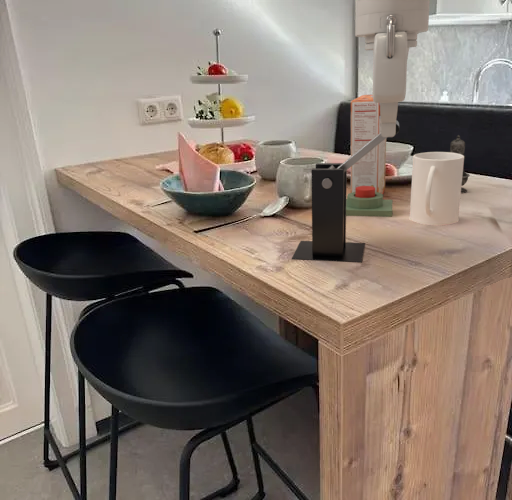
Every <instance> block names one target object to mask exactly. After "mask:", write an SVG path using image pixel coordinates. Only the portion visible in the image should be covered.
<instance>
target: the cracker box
mask: <svg viewBox="0 0 512 500" xmlns="http://www.w3.org/2000/svg"><path fill="white" fill-rule="evenodd" d="M379 133H381V116H380V103H376V102H374V101H373V94H362V95H360V96H357V97H356V98H354V99H353V100H350V157H351V156H352V155H354V154H355V153H356V152H357V151H359V150H360V149H361V148H362V147H363V146H365V145H366V144H367V143H368V142H370V141H371V140H372V139H373V138H374V137H376V136H377V135H378V134H379ZM386 164H387V138H386V139H385V140H384V141H382V142H381V143H380V144H379V145H377V146H376V147H375V148H374V149H372V150H371V151H370V152H369V153H367V154H366V155H365V156H364V157H362V158H361V159H360V160H359V161H357V162H356V163H355V164H354V165H352V166H351V167H350V193H352V192H355V189H356V187H359V186H372V187H375V192H379V193H381V194H383V195H384V193H385V190H386V170H387V166H386Z"/></svg>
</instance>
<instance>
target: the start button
mask: <svg viewBox="0 0 512 500" xmlns="http://www.w3.org/2000/svg"><path fill="white" fill-rule="evenodd" d="M355 197H359V198H372V197H375V187H372V186H359V187H356V189H355Z"/></svg>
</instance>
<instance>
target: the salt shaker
mask: <svg viewBox="0 0 512 500" xmlns="http://www.w3.org/2000/svg"><path fill="white" fill-rule="evenodd" d="M465 150H466V142H465V141H464V140H463V139H461V136H460V135H459V134H458V135H457V136H456V138H455V139H453V140H452V141H451V142H450V148H449V152H450V153H457V154H461V155H463V156H464V160H465V159H466V155H465ZM464 165H465V163H464V164H463V175H462V185H461V194H466V193H467V192H468V190H467V189H466V188H465V187H463V186H465V184H467V182H468V181H469V180H468V179H469V177H470V176H471V175H470V173H467V172H466V171H465V169H464V167H465V166H464Z"/></svg>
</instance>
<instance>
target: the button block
mask: <svg viewBox="0 0 512 500" xmlns="http://www.w3.org/2000/svg"><path fill="white" fill-rule="evenodd" d="M346 217H378V218H379V217H381V218H392V217H393V199H384V193H383V194H381V193H379V192H375V197H372V198H359V197H355V192H352V193H351V192H349V193H347V194H346Z"/></svg>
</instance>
